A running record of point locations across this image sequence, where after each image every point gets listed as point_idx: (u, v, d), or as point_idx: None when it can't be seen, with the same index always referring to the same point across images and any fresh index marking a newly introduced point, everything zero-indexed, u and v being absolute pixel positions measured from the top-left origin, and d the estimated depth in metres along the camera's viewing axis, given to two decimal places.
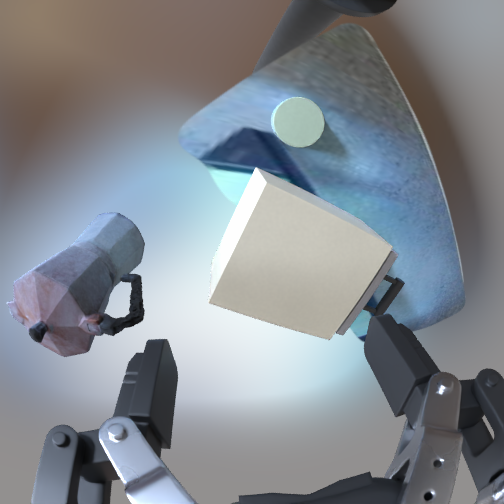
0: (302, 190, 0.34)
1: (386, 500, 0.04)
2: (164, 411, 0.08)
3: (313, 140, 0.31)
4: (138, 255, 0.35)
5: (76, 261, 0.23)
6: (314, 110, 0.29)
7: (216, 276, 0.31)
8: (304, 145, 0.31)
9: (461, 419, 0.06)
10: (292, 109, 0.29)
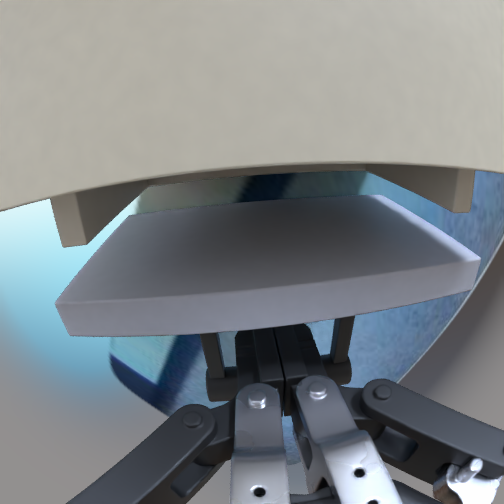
0: None
1: None
2: None
3: None
4: None
5: None
6: None
7: None
8: None
9: None
10: None
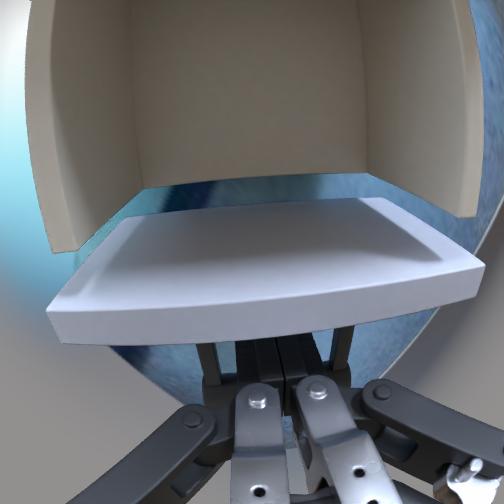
0: None
1: None
2: None
3: None
4: None
5: None
6: None
7: None
8: None
9: None
10: None
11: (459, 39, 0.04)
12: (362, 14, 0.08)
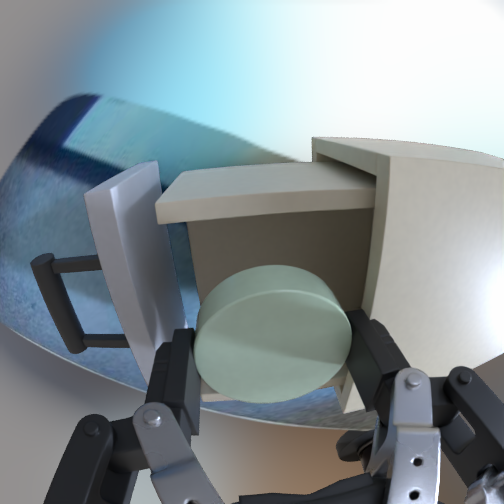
0: None
1: None
2: (193, 397, 0.09)
3: (204, 341, 0.10)
4: None
5: None
6: (253, 394, 0.11)
7: None
8: (221, 316, 0.09)
9: (433, 417, 0.07)
10: (310, 370, 0.11)
11: None
12: None
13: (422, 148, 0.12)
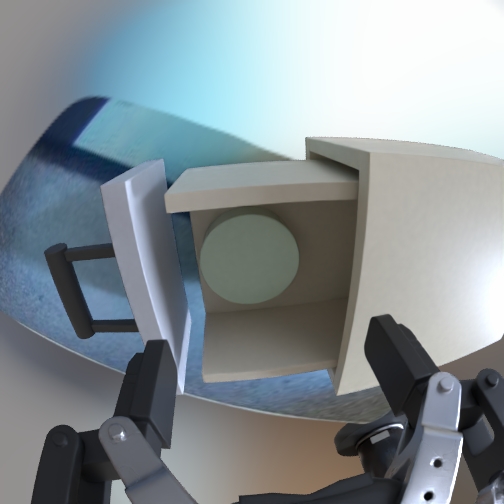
0: None
1: (386, 500, 0.04)
2: (164, 410, 0.08)
3: (207, 248, 0.17)
4: None
5: None
6: (237, 294, 0.18)
7: None
8: (217, 230, 0.16)
9: (461, 419, 0.06)
10: (274, 274, 0.18)
11: (287, 366, 0.16)
12: (305, 306, 0.21)
13: (407, 146, 0.14)
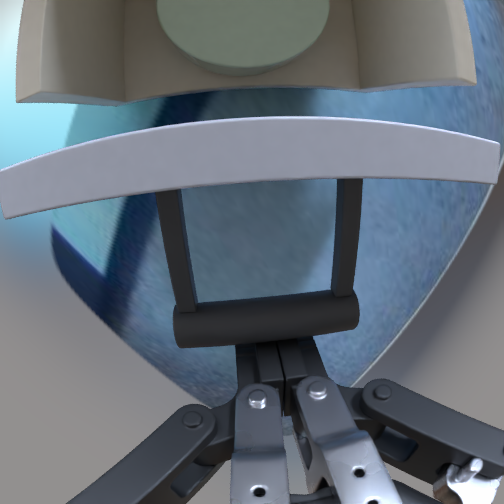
0: None
1: None
2: None
3: (211, 54, 0.08)
4: None
5: None
6: (308, 17, 0.07)
7: None
8: (178, 39, 0.07)
9: None
10: None
11: None
12: None
13: None
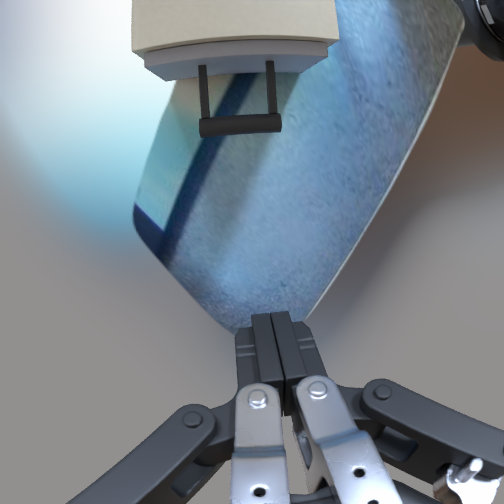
0: None
1: None
2: None
3: None
4: None
5: None
6: None
7: None
8: None
9: None
10: None
11: None
12: None
13: None
